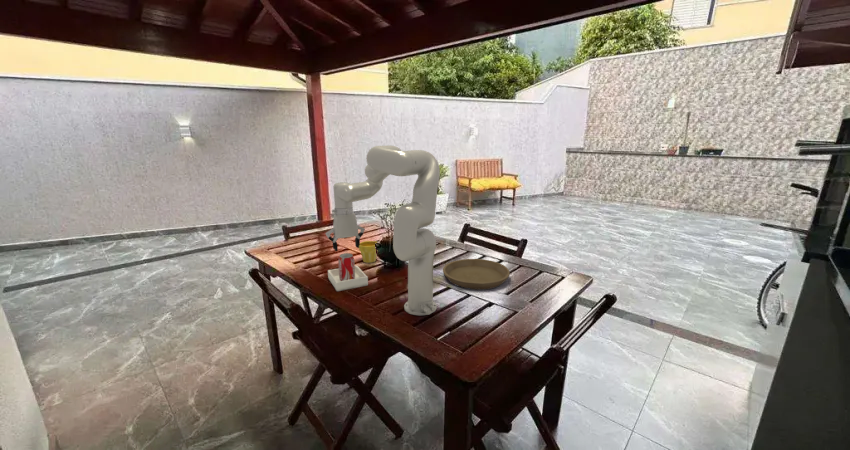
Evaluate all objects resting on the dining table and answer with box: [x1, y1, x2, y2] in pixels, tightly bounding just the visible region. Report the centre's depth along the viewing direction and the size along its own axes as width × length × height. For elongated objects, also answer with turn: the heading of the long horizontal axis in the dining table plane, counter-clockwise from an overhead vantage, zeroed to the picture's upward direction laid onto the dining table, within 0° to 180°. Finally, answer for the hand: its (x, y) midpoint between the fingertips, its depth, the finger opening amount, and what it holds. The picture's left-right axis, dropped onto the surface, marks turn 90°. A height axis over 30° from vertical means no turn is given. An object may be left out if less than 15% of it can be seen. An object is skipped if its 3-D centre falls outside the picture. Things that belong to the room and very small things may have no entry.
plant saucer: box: [442, 258, 511, 290], centre depth 166 cm, size 31×31×5 cm
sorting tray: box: [327, 265, 369, 292], centre depth 160 cm, size 16×14×4 cm
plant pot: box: [358, 240, 378, 264], centre depth 187 cm, size 10×10×10 cm
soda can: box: [337, 252, 356, 281], centre depth 159 cm, size 7×7×12 cm
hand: (346, 248), depth 157 cm, fingers open, 9 cm apart
